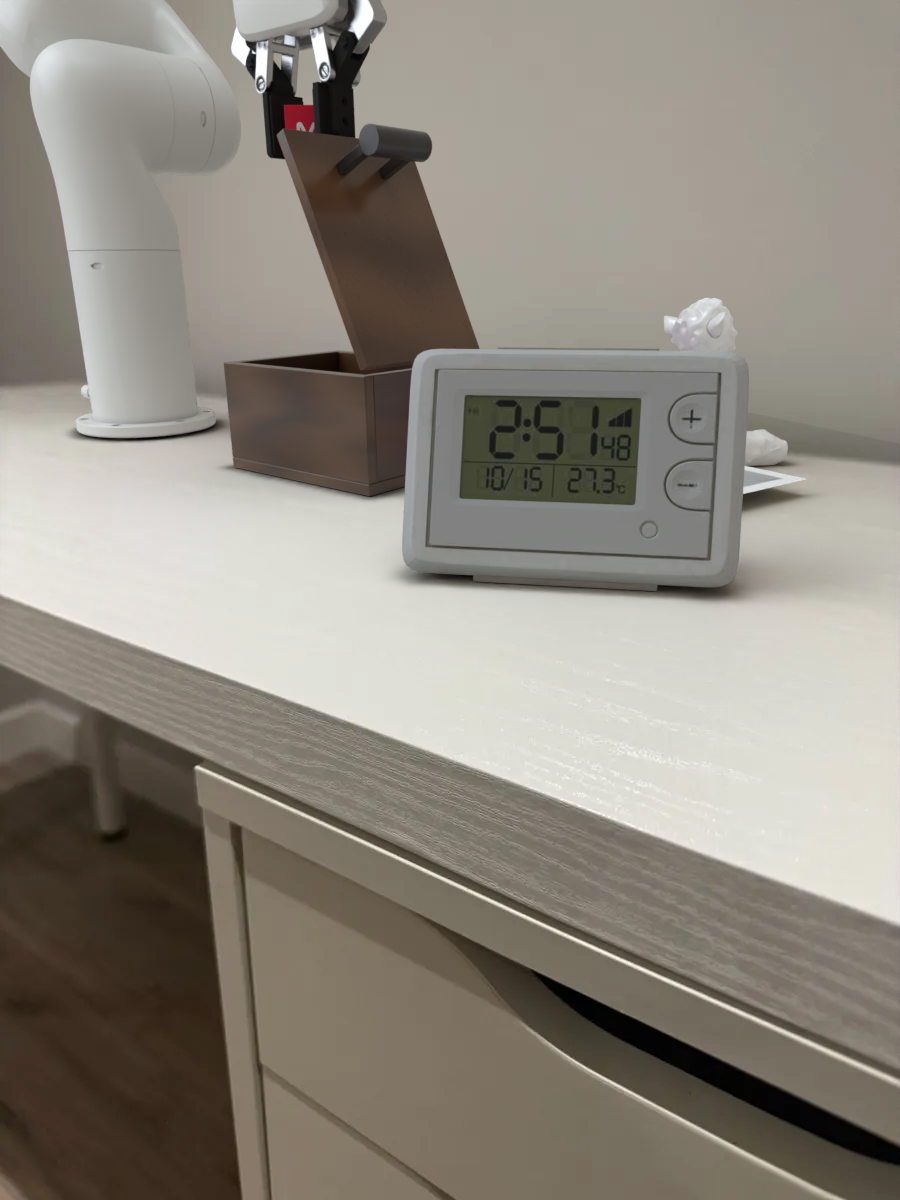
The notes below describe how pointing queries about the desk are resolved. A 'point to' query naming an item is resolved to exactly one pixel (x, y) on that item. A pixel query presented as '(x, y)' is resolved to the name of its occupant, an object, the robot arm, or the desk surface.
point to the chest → (320, 420)
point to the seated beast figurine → (714, 331)
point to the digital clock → (576, 466)
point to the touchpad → (765, 479)
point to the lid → (379, 242)
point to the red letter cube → (299, 117)
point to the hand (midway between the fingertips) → (311, 152)
